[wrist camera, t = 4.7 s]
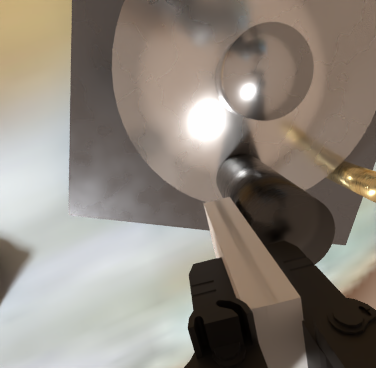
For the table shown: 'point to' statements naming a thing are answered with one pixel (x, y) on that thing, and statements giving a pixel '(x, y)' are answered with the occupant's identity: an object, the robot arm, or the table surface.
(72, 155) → the clock base
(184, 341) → the table surface
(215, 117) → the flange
